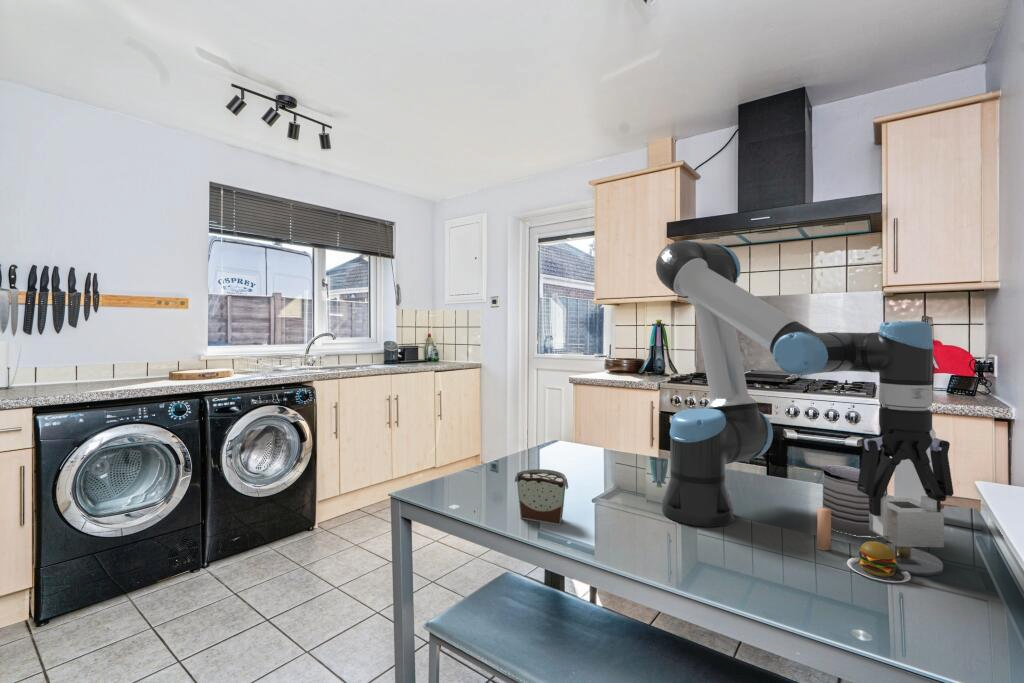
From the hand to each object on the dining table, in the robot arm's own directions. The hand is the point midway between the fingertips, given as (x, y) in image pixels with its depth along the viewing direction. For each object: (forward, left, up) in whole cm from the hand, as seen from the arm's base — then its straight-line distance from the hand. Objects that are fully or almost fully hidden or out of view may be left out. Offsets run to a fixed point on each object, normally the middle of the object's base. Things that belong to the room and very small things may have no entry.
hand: (904, 533), depth 90 cm
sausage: (-12, +2, -5) cm, 13 cm away
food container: (-67, +3, -5) cm, 67 cm away
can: (-3, +16, -5) cm, 17 cm away
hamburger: (-6, -6, -6) cm, 10 cm away
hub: (0, 0, -5) cm, 5 cm away
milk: (+13, +27, -5) cm, 31 cm away
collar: (0, 0, -1) cm, 1 cm away
